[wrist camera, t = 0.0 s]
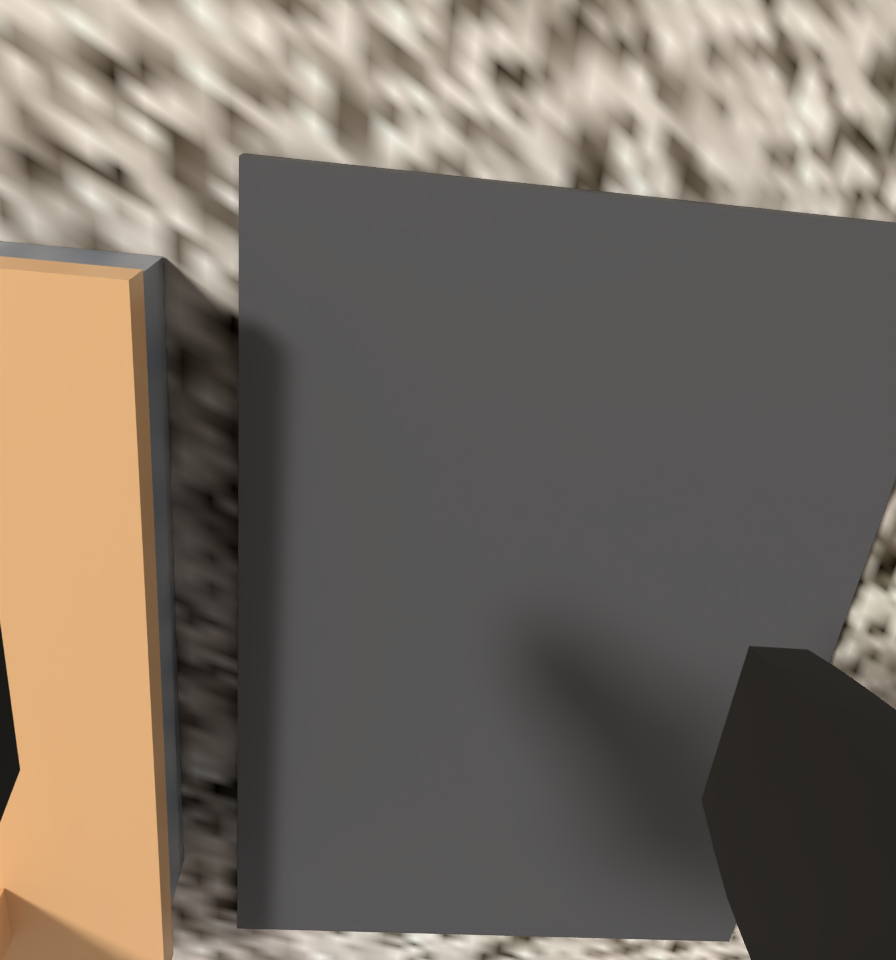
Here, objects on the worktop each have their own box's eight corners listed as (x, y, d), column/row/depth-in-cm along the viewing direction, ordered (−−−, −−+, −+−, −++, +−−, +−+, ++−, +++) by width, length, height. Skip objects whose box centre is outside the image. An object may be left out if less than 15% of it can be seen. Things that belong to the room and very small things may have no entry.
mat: (723, 925, 25) (728, 941, 25) (240, 912, 24) (236, 928, 24) (968, 230, 17) (983, 234, 16) (243, 153, 16) (239, 155, 15)
